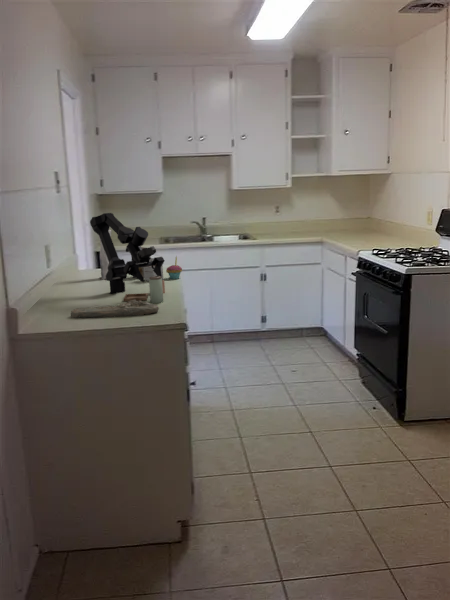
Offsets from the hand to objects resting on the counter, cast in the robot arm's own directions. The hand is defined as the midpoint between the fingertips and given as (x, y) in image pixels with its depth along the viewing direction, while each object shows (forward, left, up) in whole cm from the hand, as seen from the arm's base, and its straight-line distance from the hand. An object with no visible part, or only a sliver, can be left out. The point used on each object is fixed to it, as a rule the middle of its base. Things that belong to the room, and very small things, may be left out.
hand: (152, 279), depth 249 cm
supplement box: (-3, +55, -10) cm, 55 cm away
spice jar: (+1, -2, -10) cm, 10 cm away
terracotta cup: (+1, +17, -10) cm, 19 cm away
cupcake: (+8, +57, -10) cm, 58 cm away
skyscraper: (-29, +67, -10) cm, 73 cm away
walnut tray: (-8, +5, -10) cm, 14 cm away
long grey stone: (-15, -21, -10) cm, 28 cm away
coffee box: (-10, +66, -10) cm, 67 cm away
